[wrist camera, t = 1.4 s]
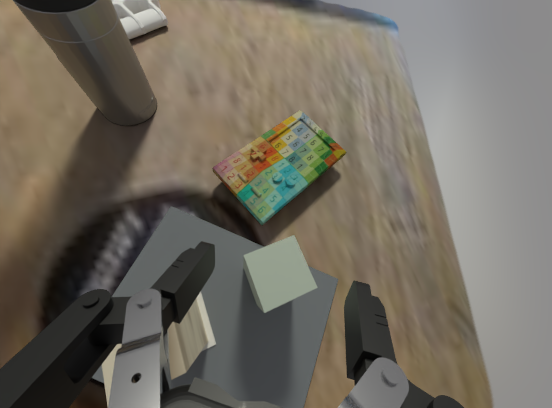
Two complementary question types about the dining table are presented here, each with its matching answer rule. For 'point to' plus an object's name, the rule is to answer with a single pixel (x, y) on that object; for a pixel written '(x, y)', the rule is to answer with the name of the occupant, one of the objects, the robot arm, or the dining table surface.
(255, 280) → the sage block
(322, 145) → the puzzle game
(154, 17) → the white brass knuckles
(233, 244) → the board
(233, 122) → the dining table surface
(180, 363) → the birch block
